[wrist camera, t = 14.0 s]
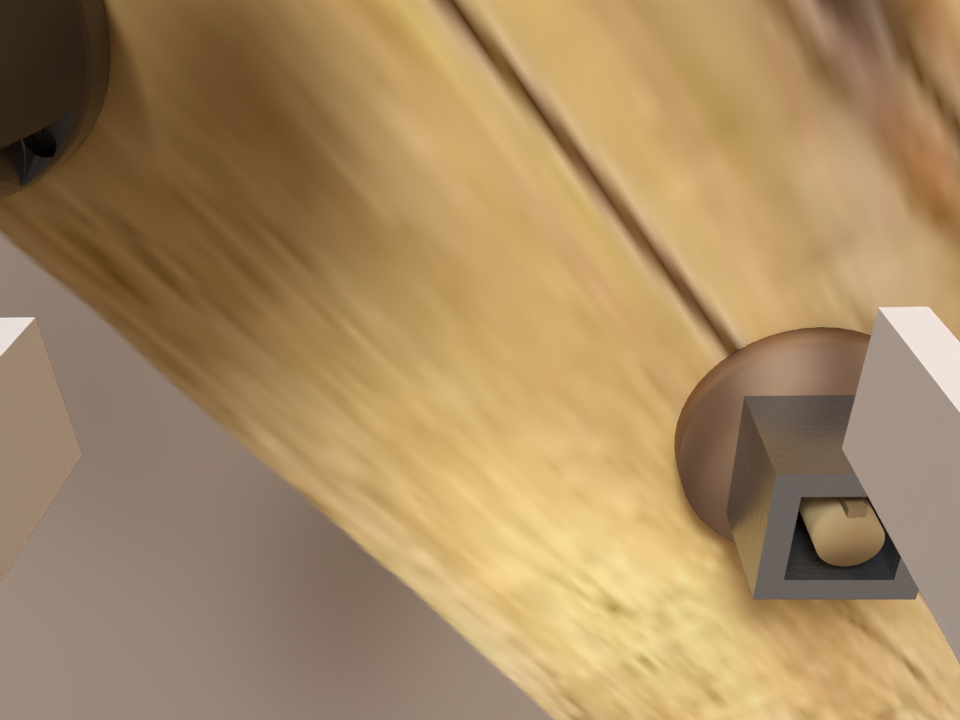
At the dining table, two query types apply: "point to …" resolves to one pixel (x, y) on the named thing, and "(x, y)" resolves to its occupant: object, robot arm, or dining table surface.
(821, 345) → the round base with post
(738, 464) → the hollow square box
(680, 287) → the dining table surface
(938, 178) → the dining table surface
